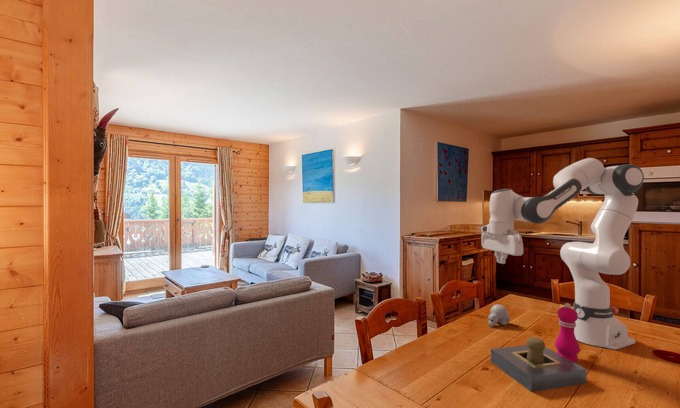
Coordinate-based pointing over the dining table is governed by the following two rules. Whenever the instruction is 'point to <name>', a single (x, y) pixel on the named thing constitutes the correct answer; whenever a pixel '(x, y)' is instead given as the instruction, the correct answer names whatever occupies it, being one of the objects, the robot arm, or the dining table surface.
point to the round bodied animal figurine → (498, 315)
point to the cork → (535, 350)
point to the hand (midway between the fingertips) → (501, 263)
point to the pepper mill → (567, 333)
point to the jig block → (538, 368)
